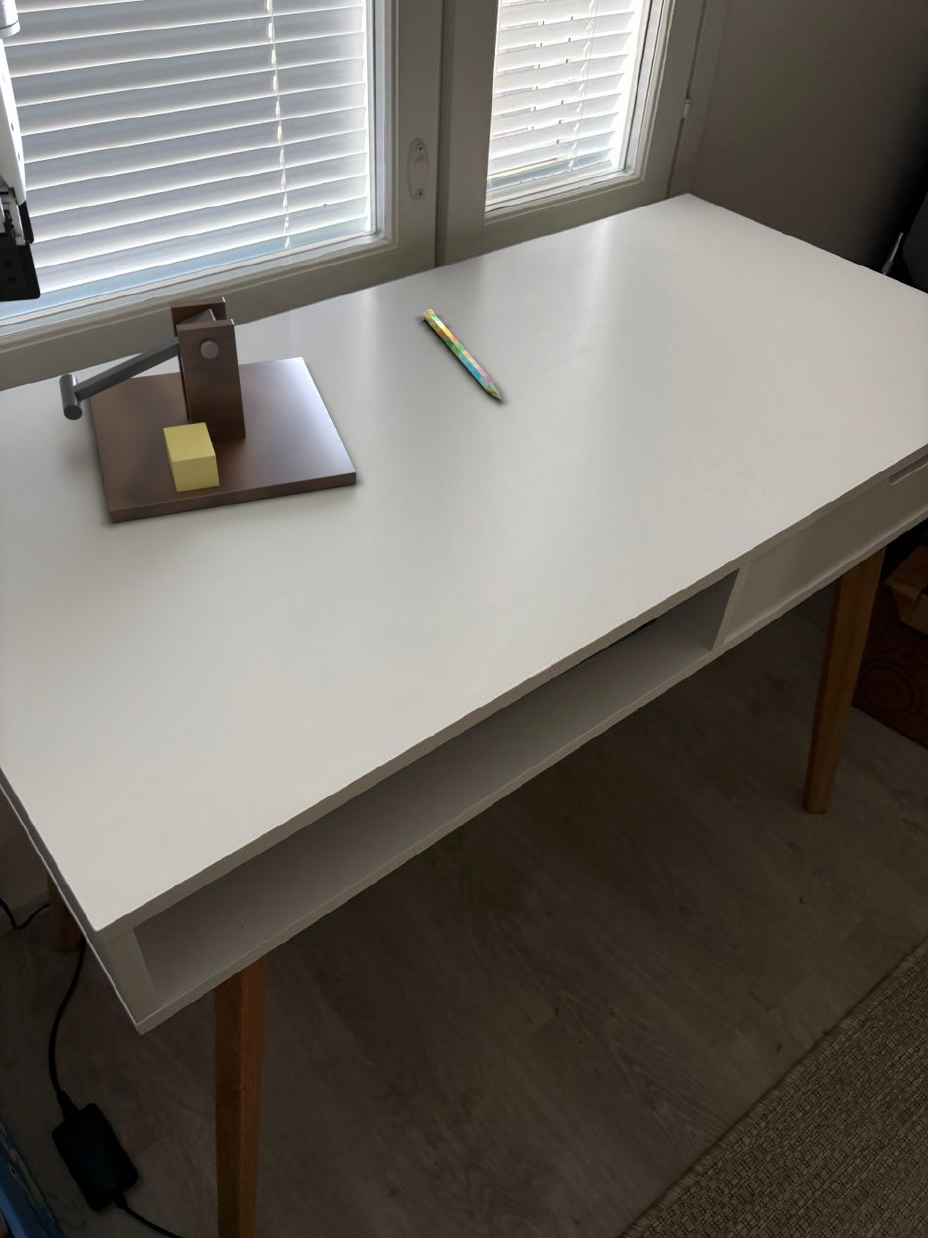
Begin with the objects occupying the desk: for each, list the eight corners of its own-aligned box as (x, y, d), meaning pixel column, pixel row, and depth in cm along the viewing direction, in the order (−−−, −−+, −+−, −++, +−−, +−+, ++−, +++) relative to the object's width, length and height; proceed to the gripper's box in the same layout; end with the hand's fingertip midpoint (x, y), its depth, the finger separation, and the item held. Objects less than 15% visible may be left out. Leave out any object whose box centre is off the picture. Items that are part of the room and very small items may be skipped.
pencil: (506, 403, 97) (432, 317, 108) (507, 392, 96) (433, 308, 108) (494, 405, 96) (421, 319, 108) (495, 394, 96) (422, 309, 107)
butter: (219, 486, 82) (215, 455, 80) (177, 492, 81) (171, 461, 79) (209, 452, 86) (205, 421, 84) (168, 458, 85) (163, 427, 83)
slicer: (112, 523, 80) (81, 392, 72) (89, 394, 93) (62, 271, 85) (356, 483, 86) (353, 358, 78) (302, 367, 99) (295, 250, 91)
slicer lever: (73, 427, 82) (56, 405, 80) (68, 396, 85) (52, 373, 83) (231, 352, 82) (217, 328, 80) (220, 324, 85) (207, 300, 84)
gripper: (-110, -28, 67) (-40, 228, 79) (-126, 39, 56) (-41, 328, 67) (10, -27, 70) (61, 222, 81) (19, 37, 58) (77, 317, 69)
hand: (15, 270), depth 74 cm, fingers open, 9 cm apart
